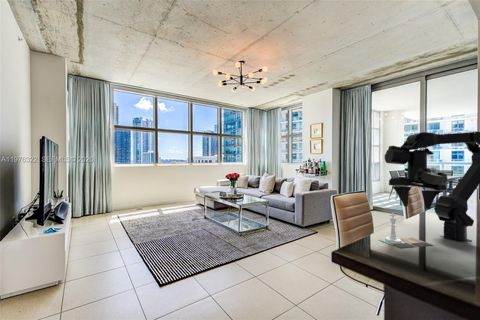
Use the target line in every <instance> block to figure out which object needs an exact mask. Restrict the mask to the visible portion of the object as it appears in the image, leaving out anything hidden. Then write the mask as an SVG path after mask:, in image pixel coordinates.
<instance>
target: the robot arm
mask: <svg viewBox="0 0 480 320" xmlns="http://www.w3.org/2000/svg"><path fill="white" fill-rule="evenodd" d="M449 144H464V145H466V149H467V150H468V151H469V152H470V153H472V154H471V165H470V166H469V167H468V169H467V170H466V172H465V173H464V174H463V176H462V177H461V179H460V180H459V181H458V183H457V184H456V186H455V187H454V188H453V190H452V192H451V193H450V194H449V195H447V196H446V195H440V196H439V197H438V199H437V201H436V202H435V203H433V202H434V200H435V199H436V197H437V196H438V195H439V194H440V193H442V194H443V192H445V191H447V185H446V184H445V183H447V182H448V174H447V173H445V172H441V171H439V172H437V173H434V172H433V173H432V171H431V169H430V168H428V165H427V164H428V163H427V162H428V160H427V159H428V158H427V156H431V155H434V152H433V151H431V150H430V149H429V148H430V147H435V146H437V145H449ZM384 161H385V162H386V163H387V164H394V165H402V166H404V165H406V164H407V165H406V167H407V168H405V167H404V172H406V173H407V177H400V176H399V177H391V178H389V180H388V186H391V188H392V189H394V191H395V192H396V194H397V195H398V197H399V200H400V202H401V203H402V205H403V206H404V207H408V204H409V192H410V191H411V189H413V187H416V188H422V189H423V190H421V194H422V199H423V203H424V207H425V209H426V210H430V209H431V207H432V205H433V204H434V208H433V210H434V213H435V214H436V216H437V217H438V220H439V221H441V222H443V235H440V236H439V237H440V238H443V239H447V240H451V241H453V242H458V243H463V242H464V243H465V242H469V243H473V240H472V239H468V231H467V230H468V229H467V227H473V225H474V222H475V220H474V219H473V218H472V217H471V216H469V215H468V213H467V212H468V210H469V205H468V201H469V199H470V198H471V197H472V195H473V194H474V192H475V191H476V190H477V188H478V187H479V186H480V131H478V130H477V131H475V130H474V131H469V132H455V133H439V134H438V133H436V132H435V133H434V132H426V131H423V132H422V131H421V132H417V133H413V134H409V135H408V136H407V137H406V139H405V142H404V143H402V145H401V146H396V145H389V146H388V149H387V150H386V152H385V154H384Z"/></svg>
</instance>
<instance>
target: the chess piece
mask: <svg viewBox="0 0 480 320" xmlns="http://www.w3.org/2000/svg"><path fill="white" fill-rule="evenodd" d="M389 216H390V217H389V221H390V223H389V226H390V227H391V229H390V234H389V236H386V237H385V238H384V239H385V241H387V242H390V243H395V244H401V243H402V240H400V238H399V237H398V236H397V234H396V233H397V232H396V227H397V226H398V225H397V224H396V222H397V218H396V216H397V215H396V214H395V213H394V212H391V214H390V213H389Z"/></svg>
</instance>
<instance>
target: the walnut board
mask: <svg viewBox="0 0 480 320" xmlns="http://www.w3.org/2000/svg"><path fill="white" fill-rule="evenodd" d="M399 239H400V240H402V241H403V242H405V243H407V244H410V245H412V244H411V243H421V242H426V243H429V244H432V245H433V246H432V247H436V246H437V245H436V244H433V243H430V242H427V241H423V240H421V239H417V238H415V237H402V238H399ZM380 240H381V239H378V241H379V242H381V243H383V244H386V245H388V246H391V247H393V248H396V249H398V250H401V249H402V250H403V249H406V248H398V247H396V246H393V245H390V244H387V243H385V242H382V241H380ZM395 245H397V244H395ZM413 246H415V245H413ZM424 247H428V246H422V247H421V248H424ZM414 248H419V247H418V246H416V247H411V248H410V249H414Z"/></svg>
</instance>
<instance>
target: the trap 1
mask: <svg viewBox="0 0 480 320" xmlns="http://www.w3.org/2000/svg"><path fill="white" fill-rule="evenodd" d="M393 246H396V247H398V248H405V249H412V248H411V247H416V246H413V245H410V244H397V245H393ZM393 246H392V247H393ZM396 247H395V248H396ZM398 248H397V249H398ZM416 248H417V247H416Z"/></svg>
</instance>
